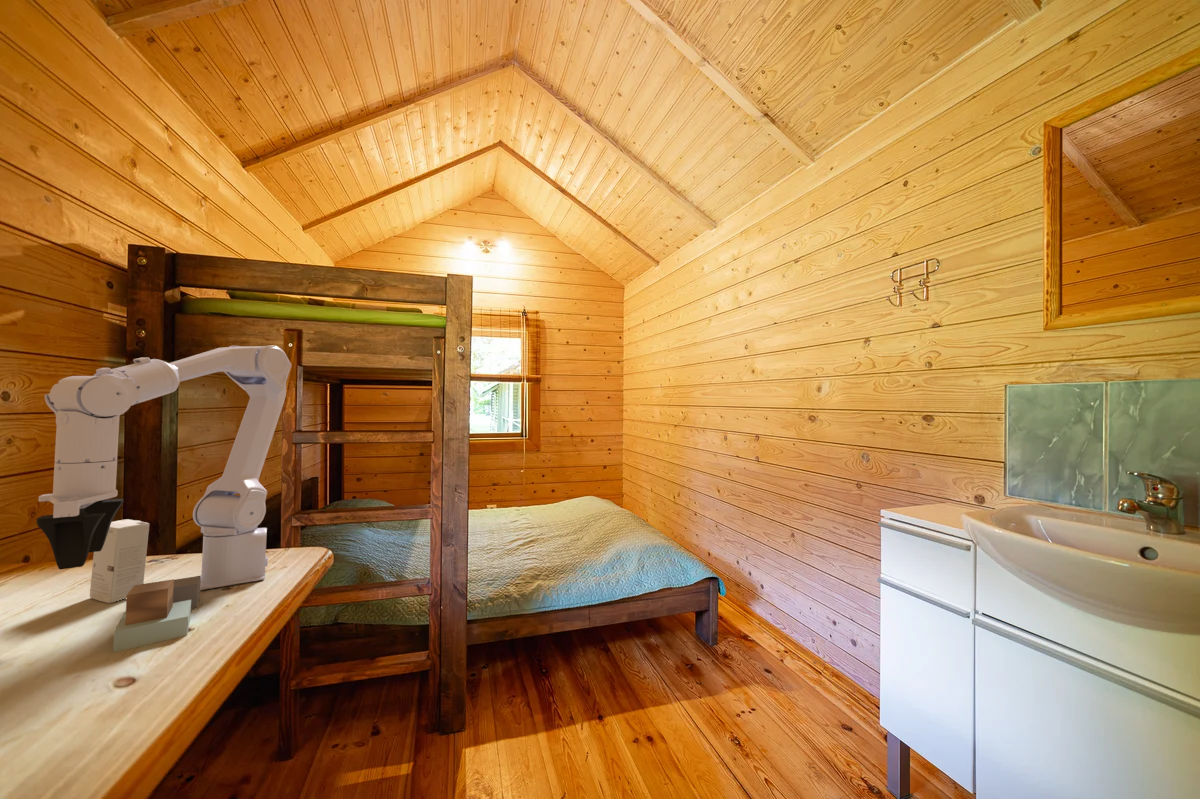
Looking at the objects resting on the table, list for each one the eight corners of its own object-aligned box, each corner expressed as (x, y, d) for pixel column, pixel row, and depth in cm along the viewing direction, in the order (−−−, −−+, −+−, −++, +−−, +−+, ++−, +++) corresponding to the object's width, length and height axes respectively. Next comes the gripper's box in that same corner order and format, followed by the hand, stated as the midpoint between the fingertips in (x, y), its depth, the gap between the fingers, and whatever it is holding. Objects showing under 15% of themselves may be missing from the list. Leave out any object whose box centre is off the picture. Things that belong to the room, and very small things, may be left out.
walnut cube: (172, 606, 64) (173, 579, 64) (166, 617, 61) (168, 588, 61) (133, 613, 62) (134, 585, 62) (125, 625, 58) (126, 595, 59)
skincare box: (87, 598, 72) (91, 524, 72) (124, 588, 76) (127, 518, 77) (110, 604, 70) (114, 528, 70) (146, 593, 74) (150, 521, 75)
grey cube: (199, 599, 73) (200, 575, 73) (196, 609, 69) (197, 583, 70) (166, 605, 70) (167, 580, 70) (161, 615, 67) (162, 589, 67)
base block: (190, 619, 67) (191, 599, 67) (187, 638, 61) (188, 616, 61) (122, 633, 62) (123, 612, 62) (113, 655, 57) (114, 631, 57)
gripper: (62, 457, 65) (57, 550, 64) (17, 468, 53) (10, 582, 53) (131, 455, 69) (127, 542, 69) (103, 465, 57) (97, 570, 57)
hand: (81, 559), depth 61 cm, fingers open, 7 cm apart
